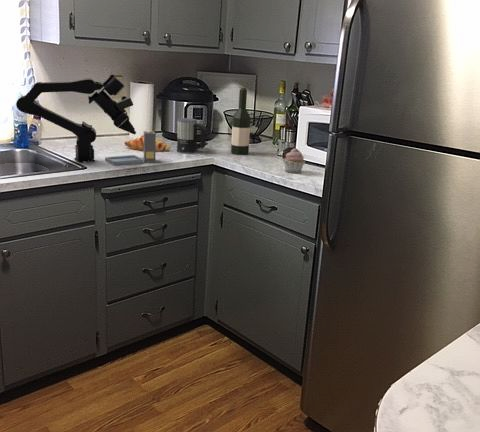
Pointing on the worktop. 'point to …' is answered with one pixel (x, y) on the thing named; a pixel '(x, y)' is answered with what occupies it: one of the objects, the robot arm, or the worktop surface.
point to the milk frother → (190, 135)
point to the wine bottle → (241, 127)
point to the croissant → (139, 144)
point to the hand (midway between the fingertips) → (134, 131)
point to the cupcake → (294, 161)
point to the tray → (124, 160)
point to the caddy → (149, 146)
